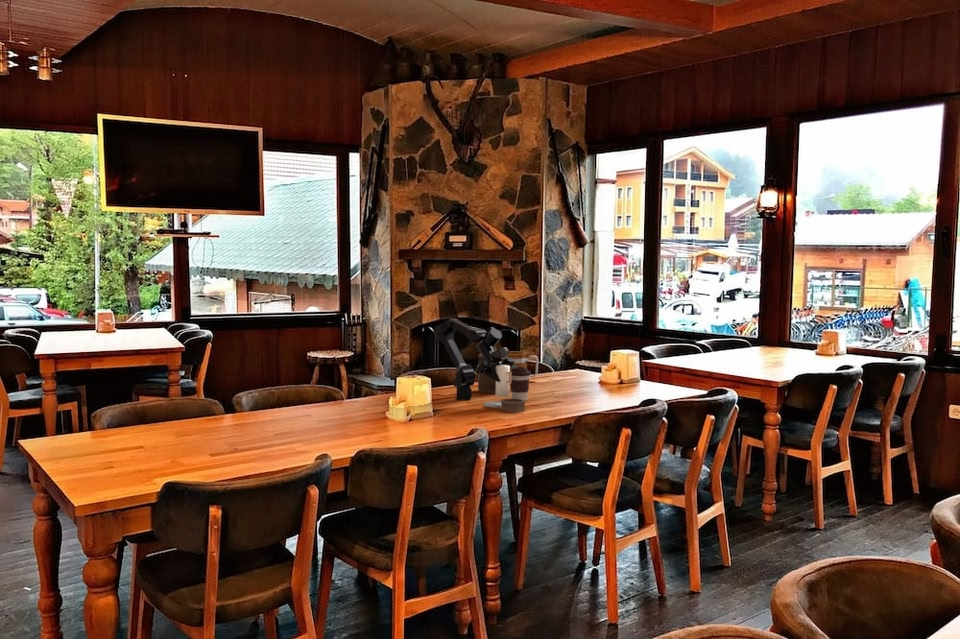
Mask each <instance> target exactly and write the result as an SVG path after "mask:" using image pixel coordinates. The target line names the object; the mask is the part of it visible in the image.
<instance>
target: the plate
mask: <svg viewBox="0 0 960 639" xmlns="http://www.w3.org/2000/svg"><path fill="white" fill-rule="evenodd" d="M484 406H486V407H485V408H487V407H493V408H492V409H500V408H499V407H501V401H485V402H484V403H483V407H484Z"/></svg>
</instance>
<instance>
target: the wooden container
mask: <svg viewBox="0 0 960 639" xmlns="http://www.w3.org/2000/svg"><path fill="white" fill-rule="evenodd" d="M492 348H493V349H494V350H498V349H497V347H495V346H492ZM477 356H478V363H477V364H478V365H479V364H480V363H481V362H482V361H483V360H482V359H483V356H482V354H481V353H479V354H478V355H477ZM502 358H503V359H502V360H501V361H500V362H503V361H504V360H505V358H508V355H507V356H504V357H502ZM478 365H477V366H478ZM483 370H484V369H483ZM495 371H496V368H495ZM484 372H485V371H484ZM477 375H478V376H477V386H478V387H477V390H478V392H479V393H481V392H482V393H481V394H486V393H491V394H490V395H496V380H494V379H493V378H491V377H489V376H487V375H486V374H483V373H480V374H479V373H478V372H477Z"/></svg>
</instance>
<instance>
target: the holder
mask: <svg viewBox="0 0 960 639" xmlns="http://www.w3.org/2000/svg"><path fill="white" fill-rule="evenodd" d="M500 402H501V408H500V409H501V410H503V411H502V412H505V411H508V412H507V413H520V412H519V411H522V412H525V411H526V410H525V409H526V404H525V403H526V402H525V400H523V399H512V397H510V398H505V399H504V398H503V399H501V400H500Z"/></svg>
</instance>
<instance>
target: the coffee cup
mask: <svg viewBox="0 0 960 639" xmlns="http://www.w3.org/2000/svg"><path fill="white" fill-rule="evenodd" d="M510 372H512V378H511V383H509V389H510V394H511V397H510V398H511V399H523V400H525V401H527V400H528V394H529V388H530V377H529V375H531V370H528V367H527V368H525V367H514V368H512V370H511V371H510Z"/></svg>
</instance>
